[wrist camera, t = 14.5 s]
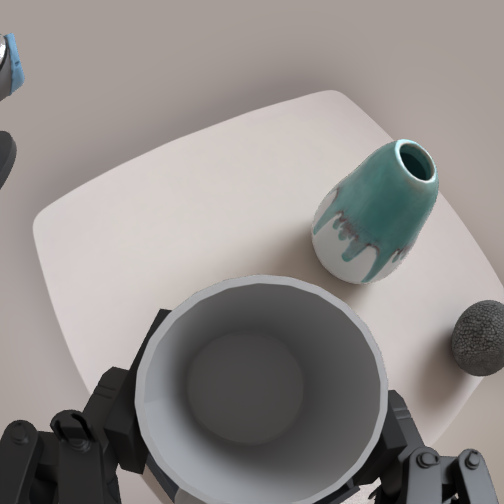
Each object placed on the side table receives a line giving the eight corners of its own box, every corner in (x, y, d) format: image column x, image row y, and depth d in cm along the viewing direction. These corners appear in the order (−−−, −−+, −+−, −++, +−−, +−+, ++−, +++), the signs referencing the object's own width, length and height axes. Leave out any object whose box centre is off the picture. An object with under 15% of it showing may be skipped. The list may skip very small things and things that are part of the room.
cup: (329, 357, 16) (416, 332, 8) (255, 501, 12) (281, 588, 4) (218, 306, 17) (211, 235, 9) (140, 449, 13) (68, 500, 5)
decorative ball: (466, 392, 29) (517, 385, 20) (426, 355, 32) (479, 341, 22) (489, 336, 33) (535, 319, 24) (453, 298, 35) (500, 273, 26)
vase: (394, 288, 35) (488, 221, 19) (311, 297, 34) (383, 219, 17) (373, 211, 40) (437, 122, 23) (296, 211, 38) (338, 102, 22)
